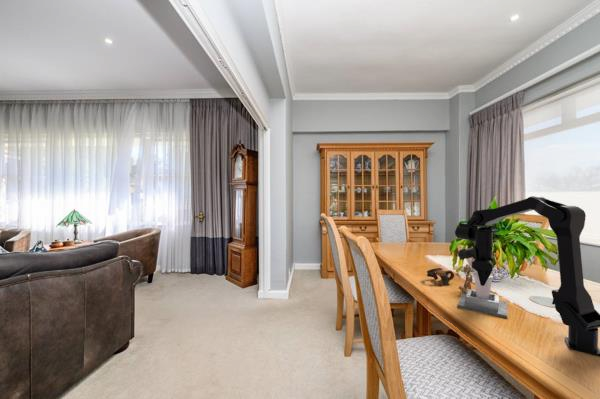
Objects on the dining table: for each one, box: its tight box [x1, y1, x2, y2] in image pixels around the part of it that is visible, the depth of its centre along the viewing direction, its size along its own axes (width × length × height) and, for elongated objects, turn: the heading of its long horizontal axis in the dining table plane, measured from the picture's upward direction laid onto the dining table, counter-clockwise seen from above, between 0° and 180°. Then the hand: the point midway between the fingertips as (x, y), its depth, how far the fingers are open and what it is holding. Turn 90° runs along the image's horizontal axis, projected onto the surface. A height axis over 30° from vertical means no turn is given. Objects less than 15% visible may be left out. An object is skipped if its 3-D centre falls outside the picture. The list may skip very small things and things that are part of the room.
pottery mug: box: [426, 267, 455, 286], centre depth 131 cm, size 12×9×8 cm
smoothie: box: [472, 272, 494, 300], centre depth 103 cm, size 6×6×14 cm
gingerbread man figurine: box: [458, 263, 474, 294], centre depth 118 cm, size 9×4×12 cm, turn 168°
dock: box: [457, 288, 508, 319], centre depth 103 cm, size 15×15×4 cm
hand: (482, 283), depth 103 cm, fingers closed on smoothie, 6 cm apart
